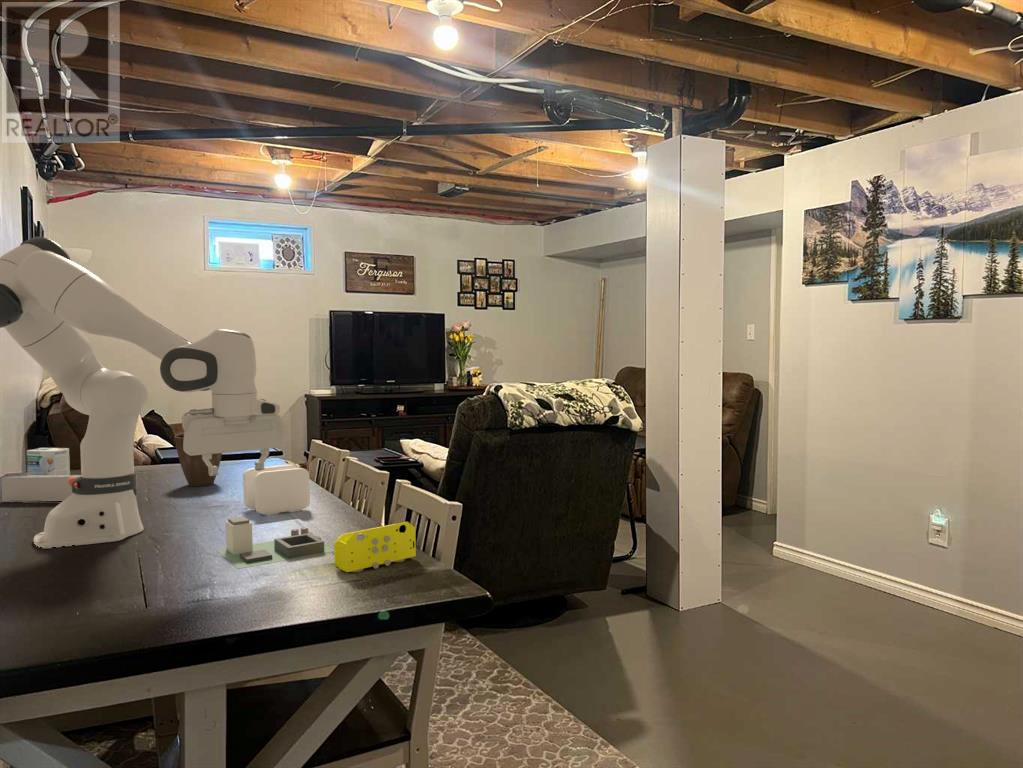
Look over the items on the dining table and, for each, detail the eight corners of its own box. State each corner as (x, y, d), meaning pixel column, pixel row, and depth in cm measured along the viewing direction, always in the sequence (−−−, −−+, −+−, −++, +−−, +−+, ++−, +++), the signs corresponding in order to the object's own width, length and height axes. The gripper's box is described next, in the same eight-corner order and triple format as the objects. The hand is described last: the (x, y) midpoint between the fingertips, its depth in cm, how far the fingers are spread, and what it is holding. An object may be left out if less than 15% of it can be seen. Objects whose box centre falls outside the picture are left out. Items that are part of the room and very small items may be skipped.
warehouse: (131, 493, 226) (130, 468, 225) (106, 503, 211) (105, 476, 211) (33, 493, 225) (32, 469, 225) (1, 503, 211) (0, 477, 210)
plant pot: (184, 480, 243) (183, 432, 243) (231, 479, 245) (230, 431, 244) (169, 489, 229) (167, 438, 228) (218, 488, 230) (217, 437, 229)
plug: (233, 554, 152) (232, 523, 152) (226, 549, 156) (225, 518, 156) (255, 550, 155) (254, 519, 154) (247, 545, 159) (247, 515, 158)
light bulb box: (26, 482, 241) (25, 450, 241) (43, 479, 248) (41, 447, 247) (55, 483, 239) (54, 450, 239) (71, 479, 246) (70, 447, 245)
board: (238, 576, 142) (237, 556, 142) (216, 557, 155) (215, 539, 155) (335, 558, 154) (335, 539, 154) (307, 541, 167) (307, 524, 167)
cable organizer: (253, 518, 191) (252, 473, 190) (243, 510, 199) (242, 468, 199) (310, 510, 199) (309, 467, 198) (298, 503, 208) (297, 462, 207)
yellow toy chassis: (348, 577, 142) (347, 534, 142) (334, 570, 147) (333, 529, 146) (417, 560, 153) (416, 520, 152) (402, 554, 157) (401, 516, 157)
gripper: (185, 411, 145) (187, 480, 145) (287, 405, 157) (289, 469, 157) (178, 408, 150) (180, 476, 151) (277, 403, 162) (279, 465, 163)
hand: (236, 472), depth 154 cm, fingers open, 8 cm apart
